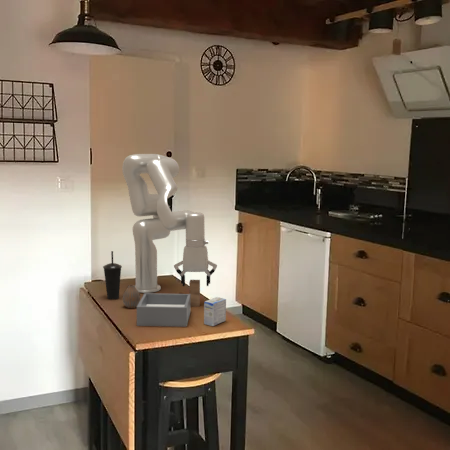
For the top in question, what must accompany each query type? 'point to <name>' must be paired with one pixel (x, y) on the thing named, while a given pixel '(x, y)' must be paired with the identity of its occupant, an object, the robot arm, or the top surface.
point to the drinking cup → (112, 279)
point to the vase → (131, 297)
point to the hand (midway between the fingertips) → (195, 285)
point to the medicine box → (214, 311)
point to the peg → (194, 292)
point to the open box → (164, 310)
